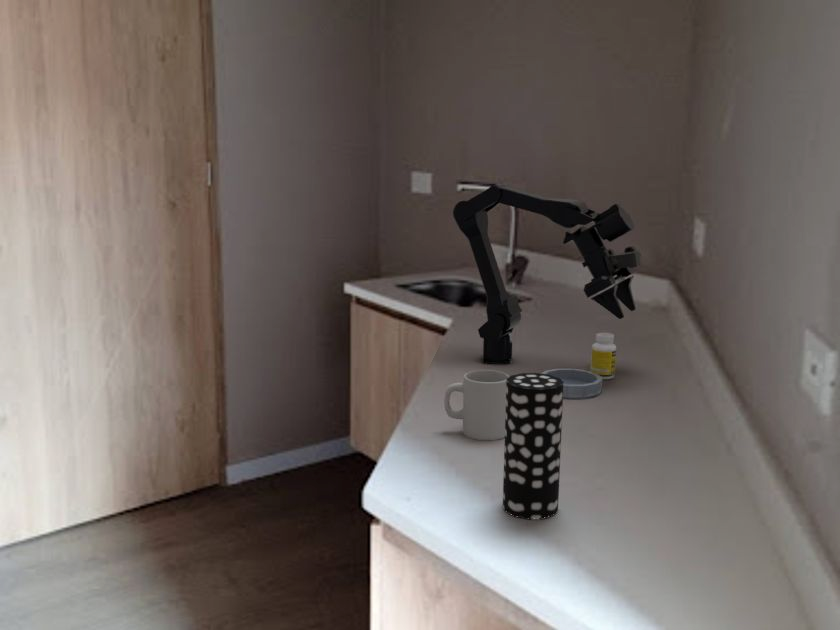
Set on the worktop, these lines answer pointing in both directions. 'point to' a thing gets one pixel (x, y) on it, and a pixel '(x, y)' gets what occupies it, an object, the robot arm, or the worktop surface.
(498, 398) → the mug
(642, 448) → the worktop surface
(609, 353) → the supplement bottle
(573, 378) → the round dish
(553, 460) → the white-spotted black cylinder
